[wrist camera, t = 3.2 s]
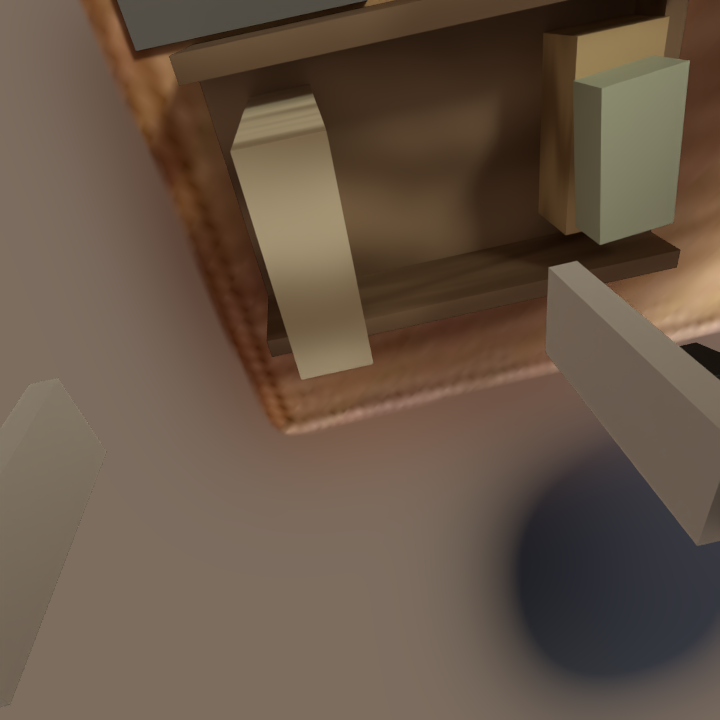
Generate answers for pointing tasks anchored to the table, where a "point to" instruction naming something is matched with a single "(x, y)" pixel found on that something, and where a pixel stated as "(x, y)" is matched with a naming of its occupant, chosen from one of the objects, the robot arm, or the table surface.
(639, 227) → the offcut top
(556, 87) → the offcut low
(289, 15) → the mat
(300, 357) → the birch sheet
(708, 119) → the table surface
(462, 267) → the tray
